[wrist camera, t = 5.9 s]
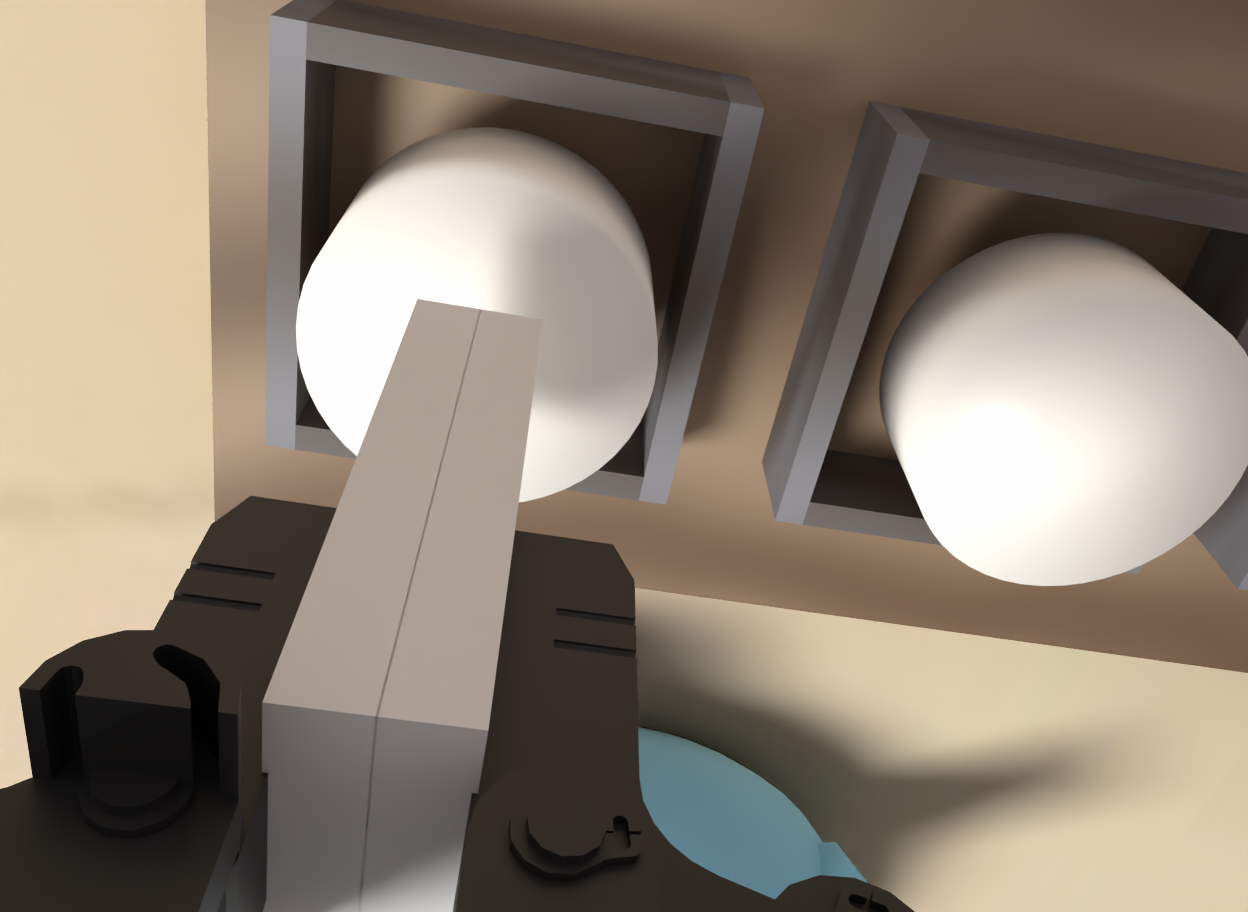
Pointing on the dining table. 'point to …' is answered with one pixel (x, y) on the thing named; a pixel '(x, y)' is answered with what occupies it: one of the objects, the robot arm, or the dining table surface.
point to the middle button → (1063, 410)
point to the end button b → (491, 289)
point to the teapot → (731, 817)
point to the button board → (759, 256)
